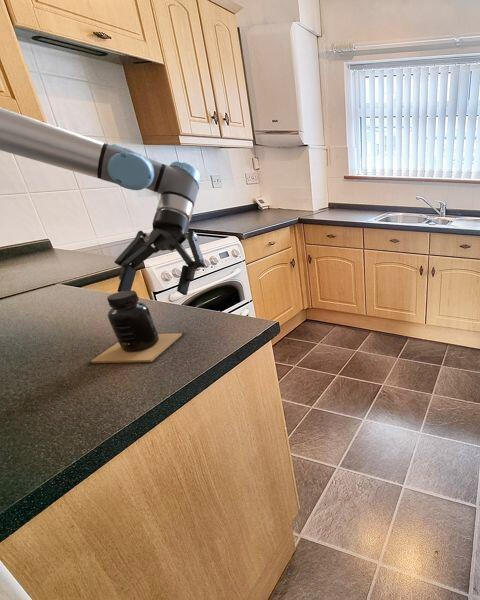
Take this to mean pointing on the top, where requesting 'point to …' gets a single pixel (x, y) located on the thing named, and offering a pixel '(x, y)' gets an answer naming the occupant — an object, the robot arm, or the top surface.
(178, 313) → the top surface
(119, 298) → the supplement bottle
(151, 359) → the cork mat
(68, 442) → the top surface
